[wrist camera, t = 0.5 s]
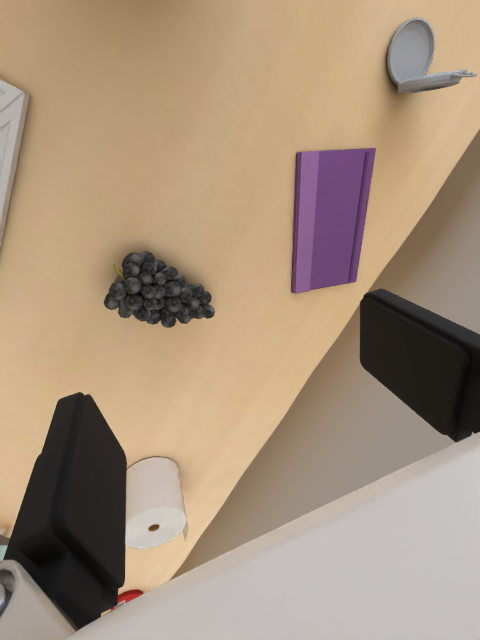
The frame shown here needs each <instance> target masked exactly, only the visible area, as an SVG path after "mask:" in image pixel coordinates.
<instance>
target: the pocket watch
mask: <svg viewBox="0 0 480 640" xmlns="http://www.w3.org/2000/svg"><path fill="white" fill-rule="evenodd" d="M434 49H435V40H434V33H433V30H432V28H431V26H430V24H429V23H428V22H427V21H426V20H424V19H422V18H413V19H410V20H408V21H407V22H405V23H404V24H403V25H402V26H401V27H400V28H399V29H398V30H397V32H396V33H395V35H394V37H393V39H392V41H391V44H390V47H389V51H388V71H389V74H390V77H391V79H392V80H393V82H394V83H395V84H396V85H398V93H415V92H423V91H429V90H435V89H440V88H445V87H449V86H453V85H456V84H458V83H459V82H460V80H461V78H462V77H474V76H477V73H467V70H459V71H457V72H456V71H451V72H442V73H435V74H429V75H425V74H426V72H427V71H428V69H429V66H430V64H431V61H432V59H433V54H434Z"/></svg>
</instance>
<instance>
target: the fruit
mask: <svg viewBox="0 0 480 640" xmlns="http://www.w3.org/2000/svg"><path fill="white" fill-rule="evenodd" d="M154 260H155V259H154V256H153V254H152V253H150V252H143V253H141V254H140V255H139V254H138V253H129V254H128V255H127V256H126V257H125V258H124V260H123V262H122V267H123V274H122V273H121V271H120V270H119V269H118V268H117V266H116V265H115V264H114V265H113V266H114V268H115V271H116V272H117V273H118V274H119V275H118V276H117V277H116V280H115V283H113V284H112V285H111V287H110V289H109V293H108V294H107V295H106V297H105V300H104V305H105V307H107V308H108V309H111V310H113V309H116V308H118V307H119V310H118V314H119V315H120V317H122V318H129V317H130V316H131V315H134V316H135V317H136V318H137V319H138V320H140V321H147V323H149V324H152V325H153V324H157V323H158V322H159V321H160V320H161V323H162V325H163V326H164V327H167V328H170V327H173V326H174V325H175V323H176V318H177V319H178V320H179V321H180V322H181V323H184V324H187V323H188V322H189V321H190V320H191V319H192V318H196V319H201V318H203V317H205V318H212V317H213V316H214V313H215V310H214V308H213V307H212V306H211V305H209V303H210V302H211V295H210V293H209V292H207V291H205V290H204V288H203V286H202V285H201V284H193V285H192V284H188V282H187V281H186V279H185V277H184V276H182V275H179V274H178V275H177V270H176V269H175V268H173V267H167V266H166V265H165V263H164V262H163V261H161V260H155V261H154ZM163 296H168V297H166V298H163ZM175 317H176V318H175Z"/></svg>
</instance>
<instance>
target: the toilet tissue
mask: <svg viewBox="0 0 480 640" xmlns="http://www.w3.org/2000/svg"><path fill="white" fill-rule="evenodd" d="M182 530H183V533H184V540H186V537H187V532H188V523H187V517H186V511H185V504H184V498H183V492H182V485H181V479H180V473H179V470H178V466H177V465H176V463H175V462H173V461H172V460H170V459H167V458H163V457H153V458H148V459H144V460H141V461H139V462H137V463H135V464H134V465H132V466H131V467H130V468H129V469H128V470H127V474H126V539H125V545H126V546H128V547H131V548H134V549H146V548H152V547H156V546H159V545H162V544H164V543H166V542H168V541H170V540H172V539H173V538H174V537H176V536H177V535H178V534H180V532H181V531H182Z"/></svg>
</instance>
